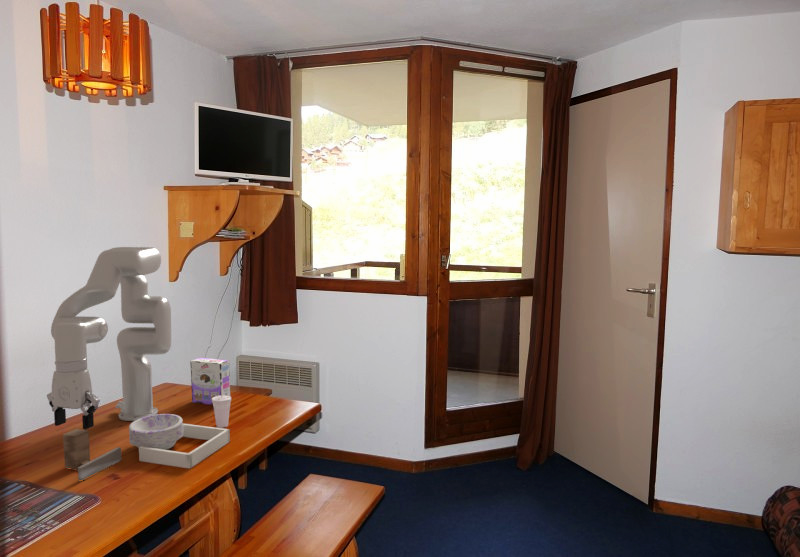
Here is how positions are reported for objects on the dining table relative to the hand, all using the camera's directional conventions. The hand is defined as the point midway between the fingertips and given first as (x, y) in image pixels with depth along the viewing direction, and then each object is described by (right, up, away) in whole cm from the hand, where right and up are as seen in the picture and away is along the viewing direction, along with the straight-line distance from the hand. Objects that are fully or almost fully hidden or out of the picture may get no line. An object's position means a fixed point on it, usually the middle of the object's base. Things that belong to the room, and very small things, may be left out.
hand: (74, 426), depth 158 cm
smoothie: (+31, -9, +33) cm, 46 cm away
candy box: (+19, -6, +58) cm, 61 cm away
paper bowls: (+16, -11, +16) cm, 25 cm away
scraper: (+3, -12, +1) cm, 12 cm away
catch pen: (+27, -11, +13) cm, 31 cm away
